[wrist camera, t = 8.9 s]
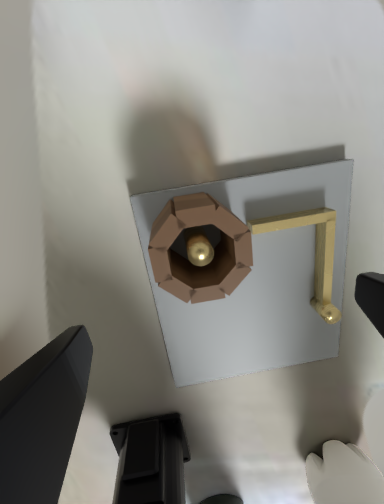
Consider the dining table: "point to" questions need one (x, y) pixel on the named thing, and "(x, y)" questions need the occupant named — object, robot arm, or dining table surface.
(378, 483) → the water bottle
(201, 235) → the end peg
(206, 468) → the dining table surface
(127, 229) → the dining table surface
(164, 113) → the dining table surface
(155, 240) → the walnut ring
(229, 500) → the wine bottle
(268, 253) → the slate board
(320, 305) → the bent rail
